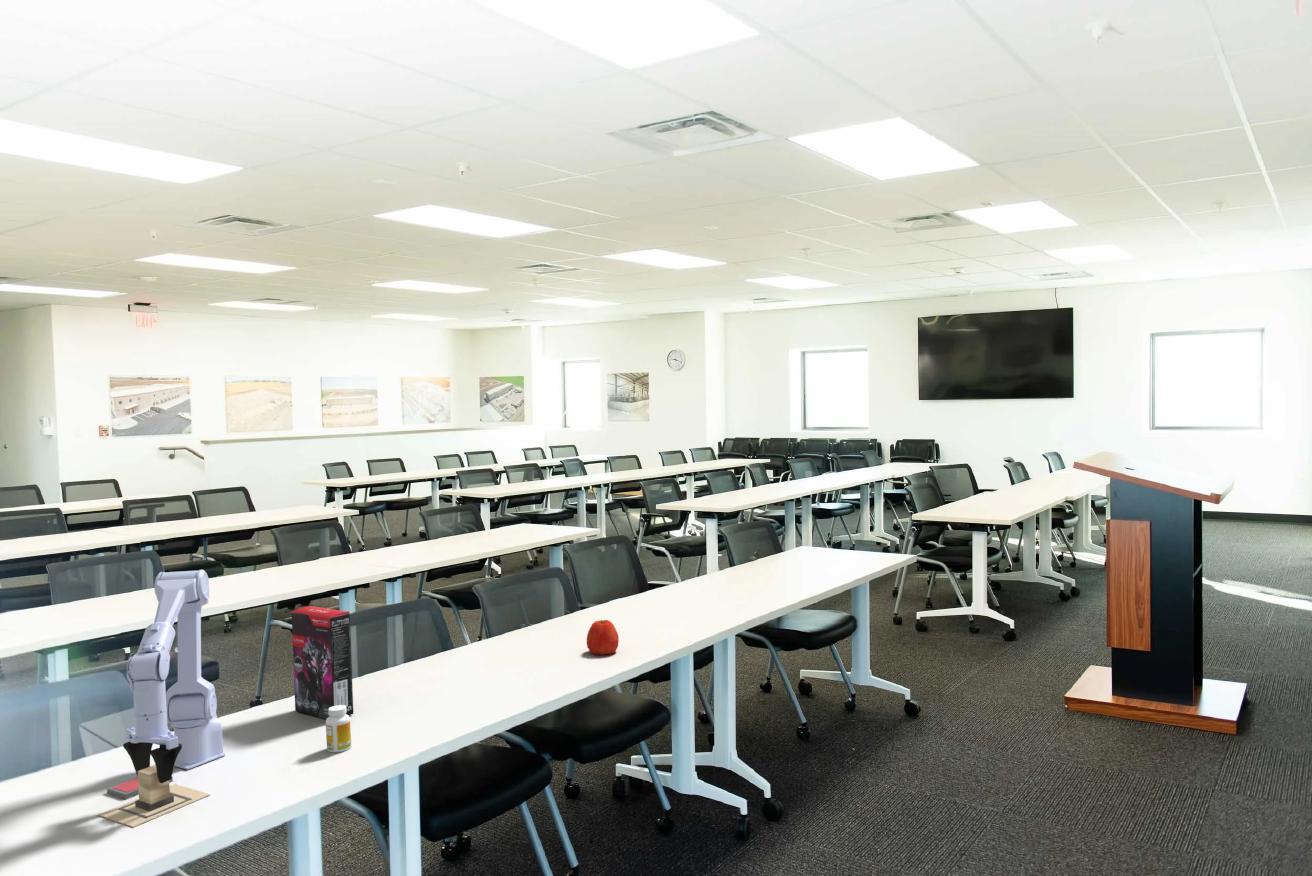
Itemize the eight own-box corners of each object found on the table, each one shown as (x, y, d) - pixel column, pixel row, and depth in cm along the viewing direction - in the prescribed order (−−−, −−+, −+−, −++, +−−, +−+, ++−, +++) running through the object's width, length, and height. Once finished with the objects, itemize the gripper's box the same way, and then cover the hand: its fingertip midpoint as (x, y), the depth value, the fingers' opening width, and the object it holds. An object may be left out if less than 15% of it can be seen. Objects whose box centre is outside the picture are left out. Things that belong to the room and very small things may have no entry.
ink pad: (153, 775, 198) (153, 770, 198) (172, 781, 195) (172, 776, 195) (107, 793, 190) (106, 788, 190) (126, 799, 186) (126, 794, 186)
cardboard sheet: (175, 784, 193) (175, 783, 193) (210, 795, 187) (210, 793, 187) (98, 815, 179) (98, 813, 179) (133, 827, 173) (133, 826, 173)
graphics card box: (293, 712, 239) (288, 610, 238) (315, 704, 244) (311, 604, 244) (333, 722, 229) (329, 616, 228) (356, 714, 235) (352, 610, 234)
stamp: (159, 797, 186) (157, 762, 186) (174, 801, 184) (172, 766, 184) (135, 806, 182) (133, 771, 182) (150, 811, 179) (148, 775, 179)
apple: (606, 646, 295) (605, 614, 294) (625, 652, 287) (624, 619, 286) (580, 652, 288) (579, 620, 288) (599, 658, 280) (598, 625, 280)
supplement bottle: (354, 743, 214) (352, 703, 213) (347, 752, 208) (345, 711, 208) (331, 745, 214) (329, 704, 213) (323, 753, 208) (321, 712, 208)
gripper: (110, 712, 182) (113, 778, 183) (152, 723, 175) (156, 791, 176) (144, 702, 189) (147, 766, 189) (186, 711, 181) (190, 778, 182)
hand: (154, 777), depth 183 cm, fingers open, 7 cm apart
